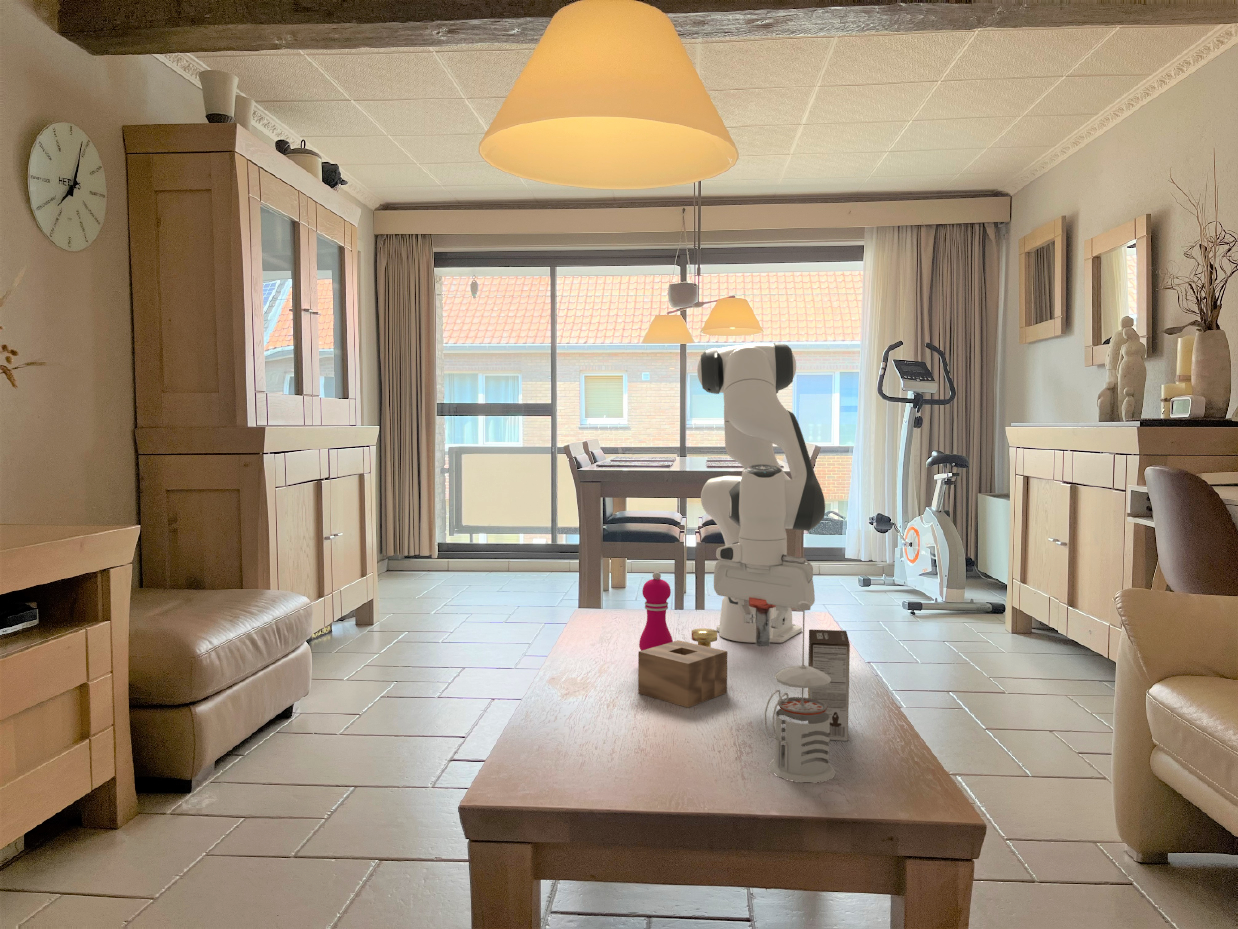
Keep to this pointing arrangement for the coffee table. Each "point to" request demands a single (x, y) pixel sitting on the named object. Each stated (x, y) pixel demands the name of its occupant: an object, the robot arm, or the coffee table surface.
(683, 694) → the hitch block
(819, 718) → the french press
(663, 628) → the pepper mill
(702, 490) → the robot arm
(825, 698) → the coffee box
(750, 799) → the coffee table surface
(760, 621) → the red round-headed grey cylinder
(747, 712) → the coffee table surface
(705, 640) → the brass pin
